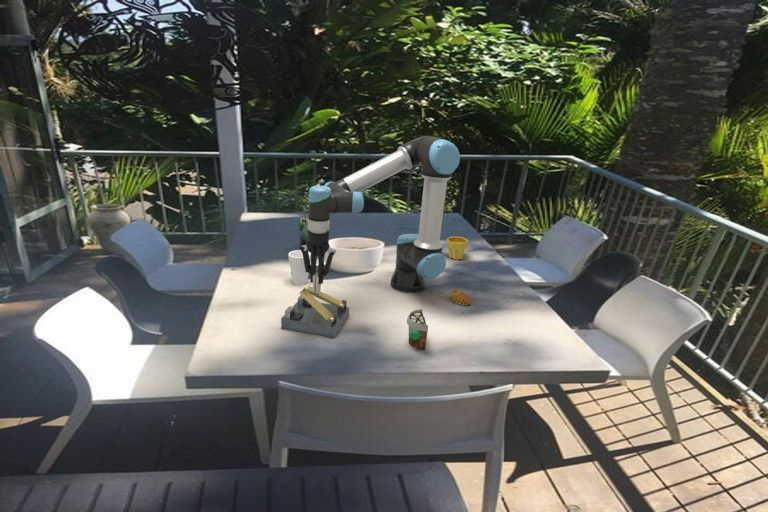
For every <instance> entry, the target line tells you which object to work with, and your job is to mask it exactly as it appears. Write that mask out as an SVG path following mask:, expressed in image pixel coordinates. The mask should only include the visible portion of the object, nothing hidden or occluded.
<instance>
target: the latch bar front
mask: <svg viewBox="0 0 768 512" xmlns="http://www.w3.org/2000/svg"><path fill="white" fill-rule="evenodd" d="M306 289H307V288H306V287H304V288H302V290H301V291H300V292H299V293H298V294H299V296H300V295H301V296H302V297H303V298H304V299H305V300H307V301H308V302H309V303H310V304H311V305H312V306H313V307H314V308H315V309H316V310H317V311H318V312H319V313H320V314H321V315H322V316H323V317H324V318H325V319H326V320H327V319H331V320H332V322H333V321H334V320H335V316H333V315H332V314H331V313H330V312H329V311H328V310H327V309H326V308H325V307H324V306H323V305H322V304H321V303H322V302H320V301H319V300H318V299H317V297H315V296H313V295H312V294H311V293H310V292H308V291H307V290H306Z"/></svg>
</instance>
